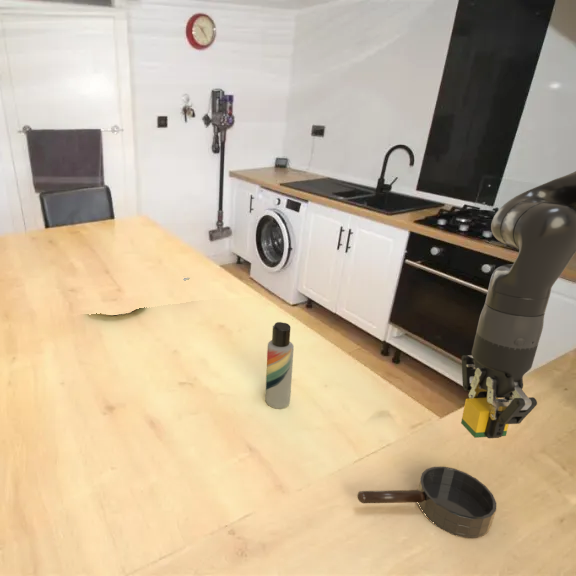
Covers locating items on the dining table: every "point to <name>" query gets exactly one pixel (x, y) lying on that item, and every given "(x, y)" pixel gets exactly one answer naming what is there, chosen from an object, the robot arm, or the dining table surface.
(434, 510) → the pan
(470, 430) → the sponge
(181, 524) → the dining table surface
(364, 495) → the pan handle
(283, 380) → the lotion bottle
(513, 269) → the robot arm
